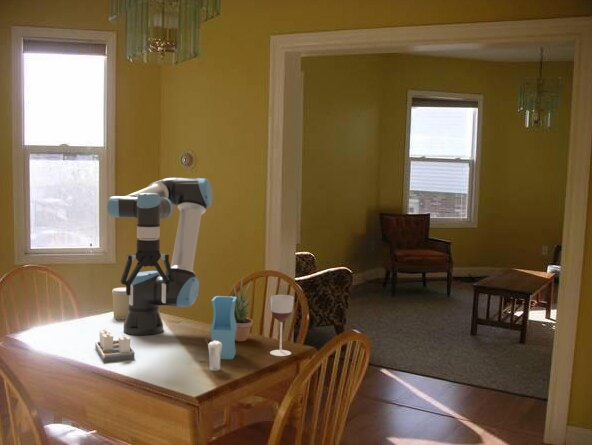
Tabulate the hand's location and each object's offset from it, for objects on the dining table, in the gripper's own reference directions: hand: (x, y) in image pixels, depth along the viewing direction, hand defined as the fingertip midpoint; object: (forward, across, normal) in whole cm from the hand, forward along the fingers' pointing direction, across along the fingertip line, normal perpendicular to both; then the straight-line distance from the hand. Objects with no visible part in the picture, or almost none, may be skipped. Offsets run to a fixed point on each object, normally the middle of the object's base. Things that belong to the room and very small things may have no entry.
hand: (147, 303), depth 211 cm
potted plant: (+18, -37, -8) cm, 42 cm away
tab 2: (+16, +12, -5) cm, 21 cm away
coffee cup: (+18, -3, -57) cm, 60 cm away
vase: (+18, -24, +10) cm, 32 cm away
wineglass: (+18, -44, +14) cm, 50 cm away
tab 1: (+16, +12, -10) cm, 23 cm away
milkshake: (+18, -16, +23) cm, 33 cm away
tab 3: (+16, +8, 0) cm, 18 cm away
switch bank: (+18, +10, -5) cm, 21 cm away
